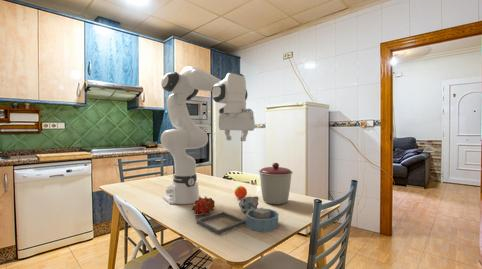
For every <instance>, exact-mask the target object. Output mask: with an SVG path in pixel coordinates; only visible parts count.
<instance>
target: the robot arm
mask: <svg viewBox="0 0 482 269" xmlns="http://www.w3.org/2000/svg"><path fill="white" fill-rule="evenodd" d="M246 82H247V81H246V77H245V75H243V74H242V73H237V72H228V73H227V74H226V76H225V77H224V79H220V78H218V77H217V76H215V75H212V73H209V72H207V71H205V70H204V69H202V68H200V67H197V66H194V65H187V66H184V67H183V68H182V70H181V72H180V73H178V72H177V71H174V72H168V73H165V74H164V75H163V76H162V80H161V87H162V89H163V90H164V91H165V92H168V93H171V94H170V95H169V96H168V97H167V99H166V107H167V113H168V117H169V123H170V124H171V125H172V127H173V128H172V129H166V130H164V131H163V132H162V133H161V135H160V144H161V145H162V147H163V148H164V149H165V150H167V151H168V153H169V154H170V155H171V156H172V159H173V163H174V164H173V165H174V174H173V175H172V178H173V179H172V182H171V183H170V184H169V185H168V186H167V188H166V190H165V192H166V194H163V195H162V198H163V199H164V200H165V202H167V203H168V204H169V205H188V204H193V203H194V204H195V201H197V200H199V198H201V195H200V194H199V193H200V192H199V184H198V182H197V180H198V179H197V178H198V175H197V172H196V170H197V167H196V166H197V165H196V164H197V163H196V160H195V158H194V157H193V156H191V155H189V154H187V152H186V150H191V149H193V150H194V149H200V148H204V147H205V146H206V145H207V144H208V142H209V136H208V133H207V132H206V130H205V129H202V128H201V127H199V126H198V125H197V124H196V123H195V122H194V121H193V120H192V118H191V115H190V113H189V109H188V106H187V102H186V101H190V100H191V99H193V98H195V97H196V96H197V94H199V91H205V92H211V97H212V99H213V101H214V102H215V103H218V104H224V106H223V107H220V108H219V109H218V114H219V116H218V129H219V130H220V131H224V134H225V137H226V139H225V140H226V141H232V136H231V134H230V133H231V131H241V133H242V136H240V141H241V142H246V141H247V137H248V134H249V131H250V132H252V131H254V130H255V128H256V124H255V116H254V111H253V109H251V108H247V99H248V90H247V83H246Z"/></svg>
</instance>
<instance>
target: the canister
mask: <svg viewBox="0 0 482 269" xmlns="http://www.w3.org/2000/svg"><path fill="white" fill-rule="evenodd" d="M258 173H259V178H260V188H261V196H262V199H263V201H264V202H265V203H267V204H270V205H276V206H277V205H283V204H285V203H287V202H288V201H289V200H288V199H289V197H290V190H291V182H292V175H293V173H294V172H293V171H292V170H291V169H289V168H287V167H280V164H279V163H278V162H273V163H272V166H267V167H263V168H261V169H259V170H258Z"/></svg>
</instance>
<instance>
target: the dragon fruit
mask: <svg viewBox="0 0 482 269" xmlns="http://www.w3.org/2000/svg"><path fill="white" fill-rule="evenodd" d="M215 203H216V202H215V200H214V199H213V198H211V197H207V196H204V198H203V197H200V198H199V200H197V201H195V202H194V204H193V205H192V207H191V211H194V212H193V213H194V215H196V216H197V215H198V216H201V215H204V217H207V215H210V213H211V212H213V211H215V207H216V205H215Z"/></svg>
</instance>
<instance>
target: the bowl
mask: <svg viewBox="0 0 482 269" xmlns="http://www.w3.org/2000/svg"><path fill="white" fill-rule="evenodd" d="M257 208H258V209H259V207H257ZM266 209H267V210H270V219H256V218H253V210H256V209H252V210H249V211H247V212H246V213H245V220H246V224H245V225H246V227H247V228H248V229H250V230H252V231H256V232H272V231H274V230H276V229H278V227H279V213H278V212H277V211H276V210H273V209H270V208H266Z"/></svg>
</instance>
